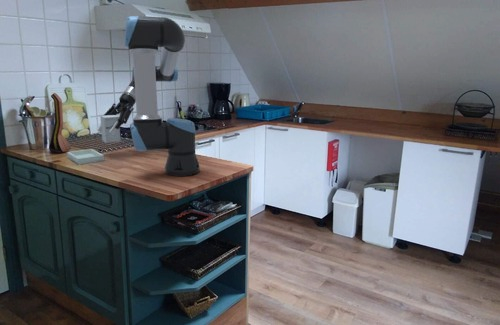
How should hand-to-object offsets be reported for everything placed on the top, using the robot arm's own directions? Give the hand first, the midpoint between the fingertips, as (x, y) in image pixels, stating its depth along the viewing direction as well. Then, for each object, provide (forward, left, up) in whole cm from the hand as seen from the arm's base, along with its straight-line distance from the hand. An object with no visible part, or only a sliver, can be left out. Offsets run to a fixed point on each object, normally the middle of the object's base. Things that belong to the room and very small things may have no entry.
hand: (105, 132), depth 192 cm
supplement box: (+1, -3, -5) cm, 6 cm away
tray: (+2, +10, -13) cm, 16 cm away
